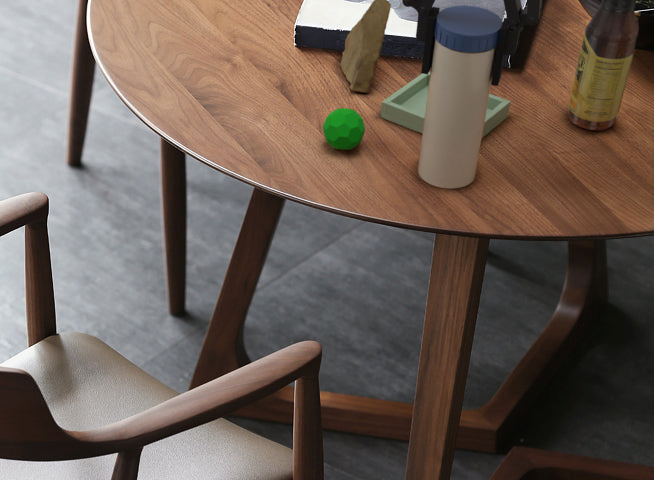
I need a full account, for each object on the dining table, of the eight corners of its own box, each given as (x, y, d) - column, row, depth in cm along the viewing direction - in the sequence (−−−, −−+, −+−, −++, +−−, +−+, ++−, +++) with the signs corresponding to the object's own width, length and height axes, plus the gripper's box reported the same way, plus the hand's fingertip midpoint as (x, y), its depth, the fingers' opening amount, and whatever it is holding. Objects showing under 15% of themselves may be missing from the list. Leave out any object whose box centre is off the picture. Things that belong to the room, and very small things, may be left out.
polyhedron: (354, 161, 129) (357, 126, 126) (316, 151, 130) (318, 116, 127) (368, 141, 132) (371, 106, 129) (331, 132, 134) (333, 97, 131)
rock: (385, 87, 137) (419, 47, 143) (349, 30, 134) (385, -9, 139) (326, 111, 146) (360, 72, 151) (291, 58, 142) (327, 19, 147)
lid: (512, 36, 116) (516, 19, 115) (477, 59, 112) (480, 42, 111) (456, 15, 120) (459, -1, 118) (420, 37, 115) (422, 21, 114)
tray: (508, 116, 138) (511, 101, 136) (466, 151, 131) (468, 135, 130) (424, 85, 143) (426, 70, 141) (380, 117, 137) (381, 101, 135)
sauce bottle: (575, 103, 140) (610, -48, 127) (622, 117, 138) (662, -36, 125) (557, 125, 136) (591, -29, 123) (605, 139, 134) (645, -16, 120)
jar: (485, 170, 128) (512, 23, 116) (456, 195, 124) (480, 45, 112) (436, 151, 131) (457, 4, 118) (406, 174, 127) (424, 26, 114)
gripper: (602, -145, 104) (556, 73, 120) (400, -170, 108) (381, 44, 123) (595, -119, 99) (548, 105, 114) (383, -146, 102) (365, 74, 118)
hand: (461, 73), depth 119 cm, fingers closed on lid, 7 cm apart
